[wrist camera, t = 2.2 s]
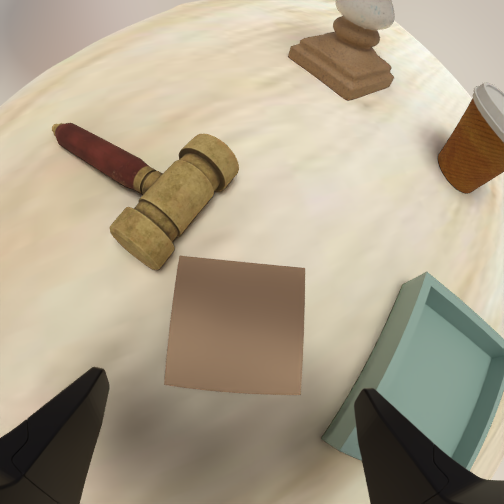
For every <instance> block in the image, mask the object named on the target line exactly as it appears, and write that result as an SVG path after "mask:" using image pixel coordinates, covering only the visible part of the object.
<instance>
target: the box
mask: <svg viewBox="0 0 504 504" xmlns="http://www.w3.org/2000/svg"><path fill="white" fill-rule="evenodd" d="M363 388H374V389H375V390H377V391H378V392H379V393H380V394H381V395H382V396H383V397H384V398H385V399H386V400H387V401H388V402H389V403H391V404H392V405H393V406H394V407H395V408H396V409H397V410H398V411H399V412H400V413H401V414H403V415H404V416H405V417H406V418H407V419H408V420H409V421H410V422H411V423H412V424H413V425H415V426H416V427H417V428H418V429H419V430H420V431H421V432H422V433H423V434H424V435H426V436H427V437H428V438H429V439H430V440H431V441H432V442H433V443H434V444H436V445H437V446H438V447H439V448H440V449H441V450H442V451H443V452H445V453H446V454H447V455H448V456H449V457H451V458H452V459H453V460H455V461H456V462H457V463H459V464H460V465H462V466H463V467H464V468H466V469H467V470H469V471H470V469H471V467H472V465H473V463H474V461H475V459H476V457H477V455H478V453H479V451H480V449H481V447H482V445H483V443H484V441H485V438H486V436H487V434H488V431H489V429H490V427H491V424H492V422H493V419H494V417H495V414H496V411H497V409H498V406H499V403H500V400H501V397H502V394H503V391H504V339H503V338H502V337H501V336H500V335H499V334H498V333H497V332H496V331H495V330H494V329H492V328H491V327H490V326H489V325H488V324H487V323H486V322H485V321H484V320H483V319H482V318H481V317H480V316H478V315H477V314H476V313H475V312H474V311H473V310H472V309H471V308H469V307H468V306H467V305H466V304H465V303H464V302H463V301H461V300H460V299H459V298H458V297H457V296H456V295H454V294H453V293H452V292H451V291H450V290H449V289H447V288H446V287H445V286H444V285H443V284H441V283H440V282H439V281H438V280H436V279H435V278H434V277H433V276H431V275H430V274H429V273H428V272H425V273H423V274H422V275H420V276H418V277H416V278H414V279H412V280H410V281H408V282H406V283H404V284H403V285H402V287H401V290H400V292H399V295H398V297H397V299H396V302H395V304H394V306H393V309H392V311H391V313H390V315H389V318H388V320H387V322H386V324H385V326H384V329H383V331H382V333H381V335H380V337H379V339H378V341H377V343H376V345H375V347H374V349H373V351H372V353H371V355H370V357H369V359H368V361H367V363H366V365H365V367H364V369H363V370H362V372H361V374H360V376H359V378H358V380H357V381H356V383H355V385H354V387H353V388H352V390H351V392H350V394H349V395H348V397H347V399H346V400H345V402H344V404H343V405H342V407H341V409H340V410H339V412H338V413H337V415H336V417H335V418H334V420H333V421H332V423H331V424H330V426H329V427H328V429H327V430H326V432H325V433H324V435H323V436H322V438H321V439H322V440H324V441H325V442H327V443H328V444H330V445H331V446H333V447H334V448H336V449H337V450H339V451H341V452H343V453H345V454H347V455H350V456H352V457H354V458H357V459H359V460H361V461H362V458H361V454H360V449H359V445H358V439H357V430H356V421H355V412H354V403H355V400H356V399H357V397H358V395H359V393H360V392H361V390H362V389H363Z"/></svg>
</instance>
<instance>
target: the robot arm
mask: <svg viewBox="0 0 504 504" xmlns="http://www.w3.org/2000/svg"><path fill="white" fill-rule="evenodd" d="M108 393H109V382H108V378H107V375H106V372H105V370H104V369H102V368H98V367H92V368H91V369H90V370H88V371H87V372H86V373H84V374H83V375H82V376H81V377H79V378H78V379H77V380H76V381H74V382H73V383H72V384H70V385H69V386H68V387H67V388H65V389H64V390H63V391H62V392H60V393H59V394H58V395H56V396H55V397H54V398H53V399H51V400H50V401H49V402H48V403H46V404H45V405H44V406H43V407H41V408H40V409H39V410H37V411H36V412H35V413H34V414H32V415H31V416H30V417H29V418H28V419H27V420H25V421H23V422H22V423H21V424H20V425H18V426H17V427H16V428H14V429H13V430H12V431H10V432H9V433H7V434H6V435H4V436H3V437H1V438H0V504H80V500H81V495H82V492H83V488H84V484H85V480H86V476H87V473H88V469H89V466H90V462H91V459H92V455H93V452H94V448H95V445H96V442H97V439H98V436H99V432H100V429H101V426H102V421H103V417H104V411H105V407H106V402H107V397H108ZM354 412H355V421H356V430H357V439H358V445H359V449H360V454H361V458H362V463H363V468H364V472H365V477H366V482H367V487H368V492H369V497H370V503H371V504H504V481H497V480H486V479H482V478H480V477H478V476H476V475H475V474H473V473H472V472H470V471H469V470H467V469H466V468H464V467H463V466H462V465H460V464H459V463H457V462H456V461H455V460H453V459H452V458H451V457H449V456H448V455H447V454H446V453H445V452H443V451H442V450H441V449H440V448H439V447H438V446H437V445H436V444H434V443H433V442H432V441H431V440H430V439H429V438H428V437H427V436H426V435H424V434H423V433H422V432H421V431H420V430H419V429H418V428H417V427H416V426H415V425H413V424H412V423H411V422H410V421H409V420H408V419H407V418H406V417H405V416H404V415H403V414H401V413H400V412H399V411H398V410H397V409H396V408H395V407H394V406H393V405H392V404H391V403H389V402H388V401H387V400H386V399H385V398H384V397H383V396H382V395H381V394H380V393H379V392H378V391H377V390H375V389H374V388H363V389H362V390H361V392H360V393H359V395H358V397H357V399H356V400H355V403H354Z"/></svg>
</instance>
